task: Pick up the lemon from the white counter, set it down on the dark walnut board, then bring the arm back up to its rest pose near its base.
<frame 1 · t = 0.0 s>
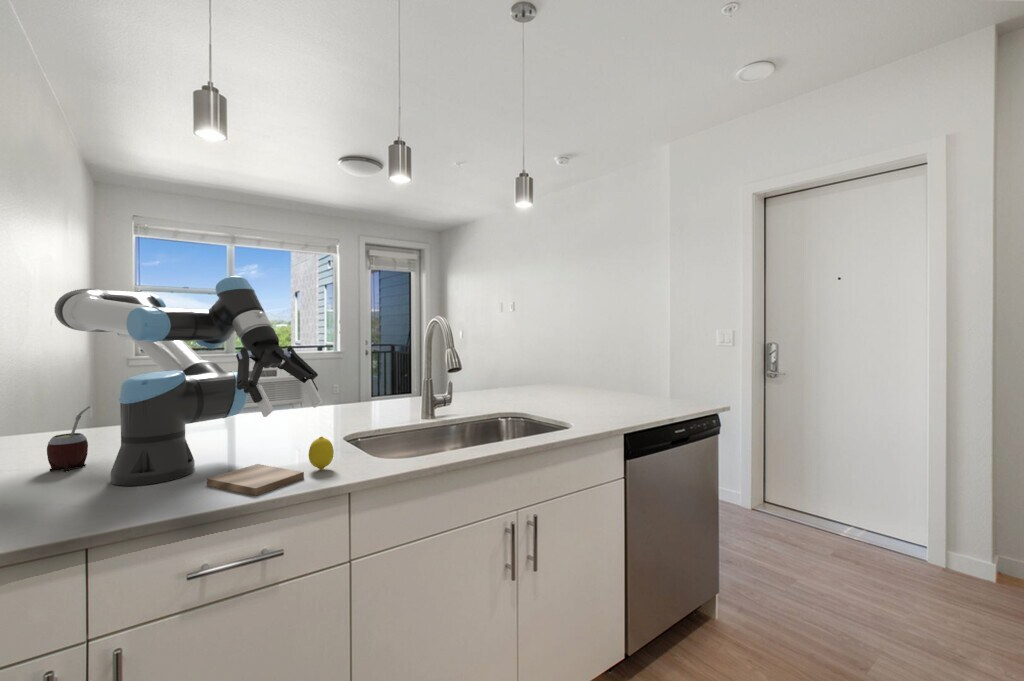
hand: (295, 409, 106), 15 cm above the counter, tool tilted 35°, fingers open, 13 cm apart
mate gourd: (70, 469, 111), on the counter
lemon: (321, 470, 111), on the counter
walnut board: (256, 481, 102), on the counter
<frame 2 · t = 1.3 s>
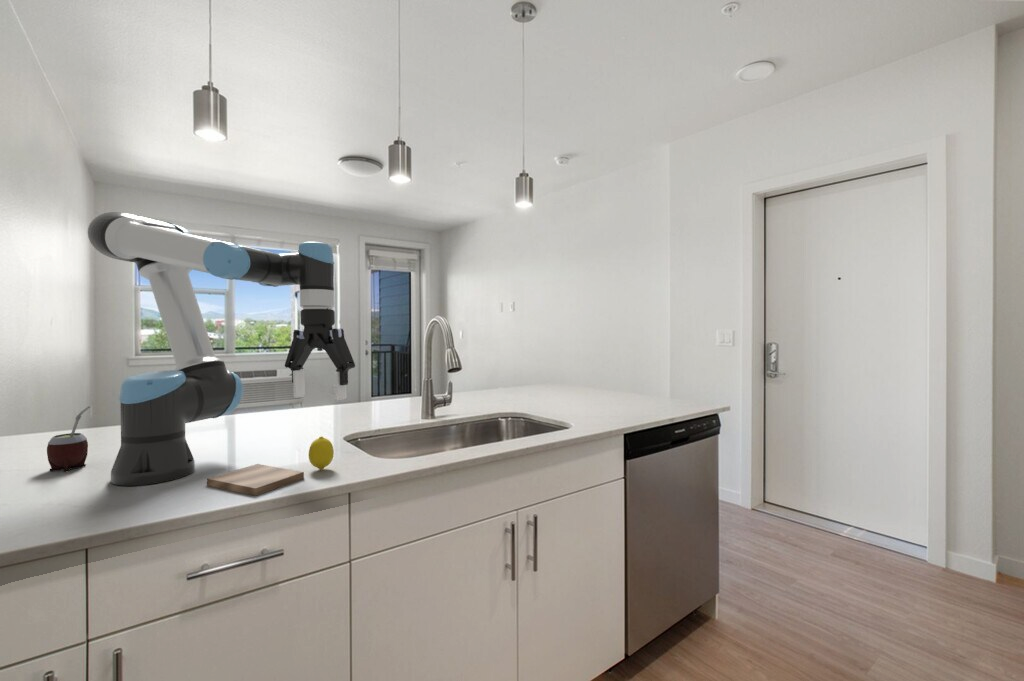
hand: (319, 398, 110), 17 cm above the counter, tool pointing down, fingers open, 13 cm apart
nothing on the counter moved.
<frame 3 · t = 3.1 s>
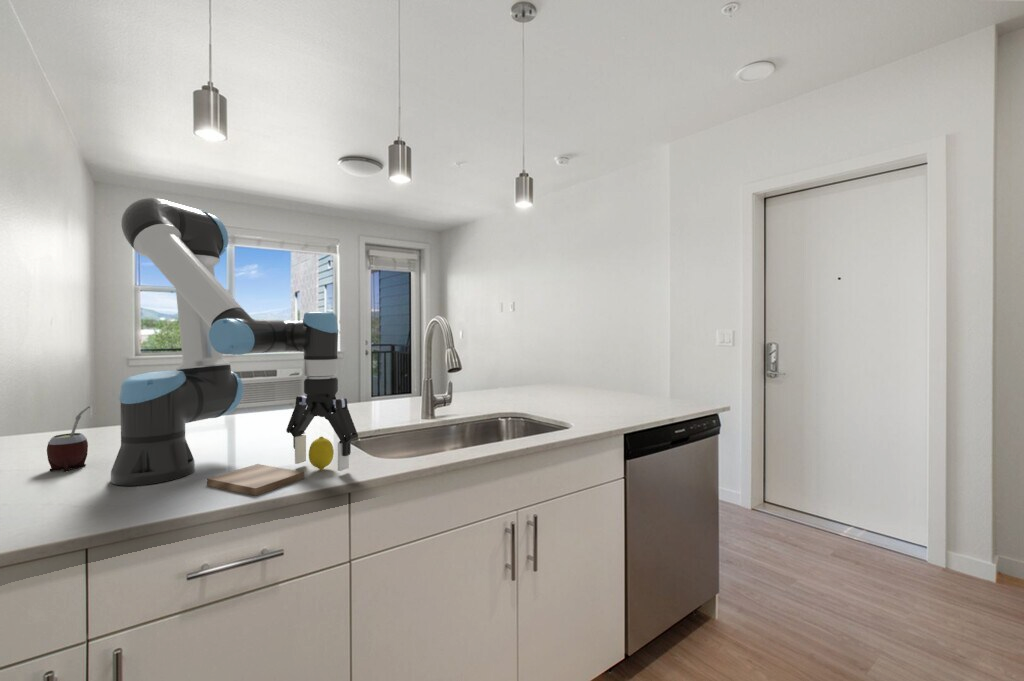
hand: (321, 465, 111), 1 cm above the counter, tool pointing down, fingers open, 13 cm apart
nothing on the counter moved.
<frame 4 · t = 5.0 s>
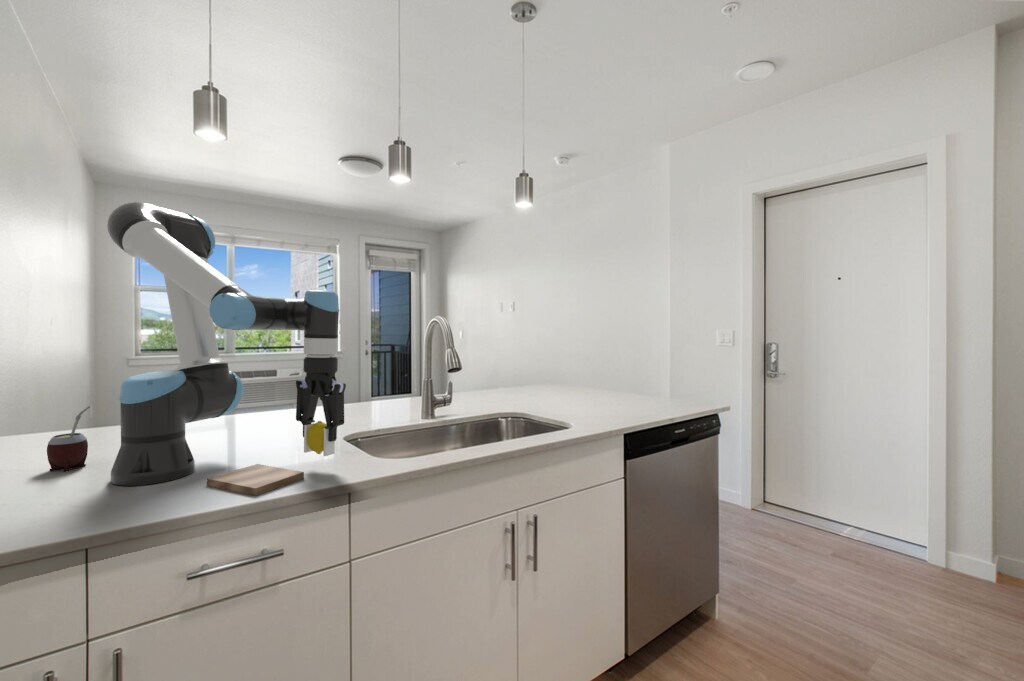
hand: (319, 452, 111), 4 cm above the counter, tool pointing down, fingers closed on lemon, 5 cm apart
lemon: (318, 455, 111), point 4 cm above the counter, touching gripper
everything else where it was.
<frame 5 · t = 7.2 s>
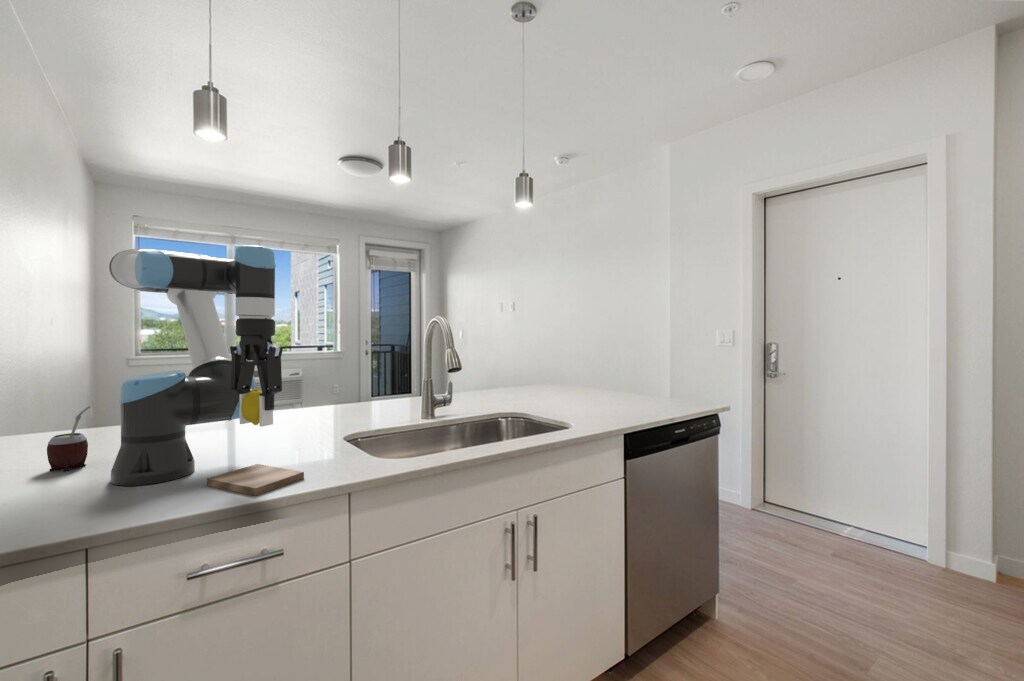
hand: (256, 423, 101), 13 cm above the counter, tool pointing down, fingers closed on lemon, 5 cm apart
lemon: (255, 426, 101), point 12 cm above the counter, touching gripper
everything else where it was.
when the fingers open (2 cm above the counter, at t = 9.7 s): lemon stays where it is, resting on walnut board.
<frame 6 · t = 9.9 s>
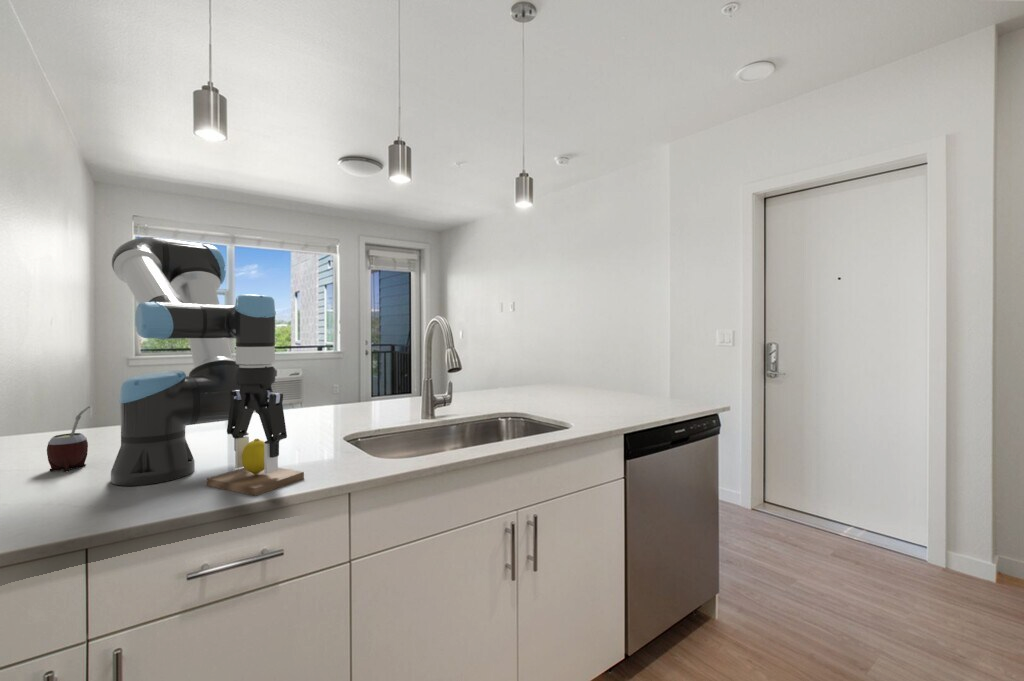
hand: (256, 469, 102), 3 cm above the counter, tool pointing down, fingers open, 8 cm apart
lemon: (256, 475, 102), point 1 cm above the counter, touching walnut board
everything else where it was.
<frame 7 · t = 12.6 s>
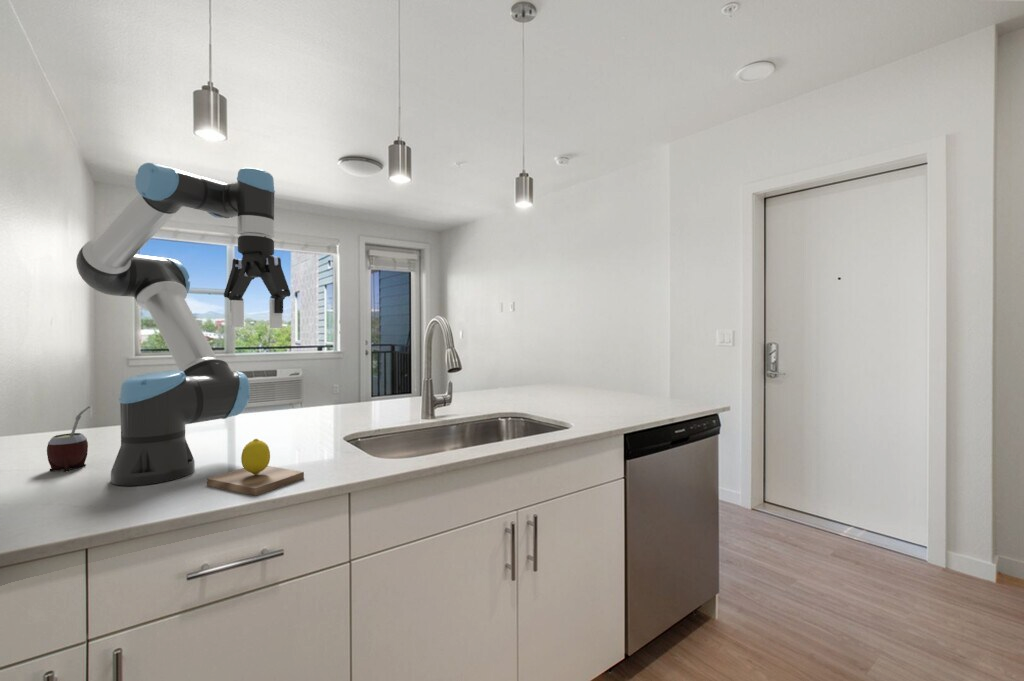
hand: (256, 327, 110), 34 cm above the counter, tool pointing down, fingers open, 13 cm apart
nothing on the counter moved.
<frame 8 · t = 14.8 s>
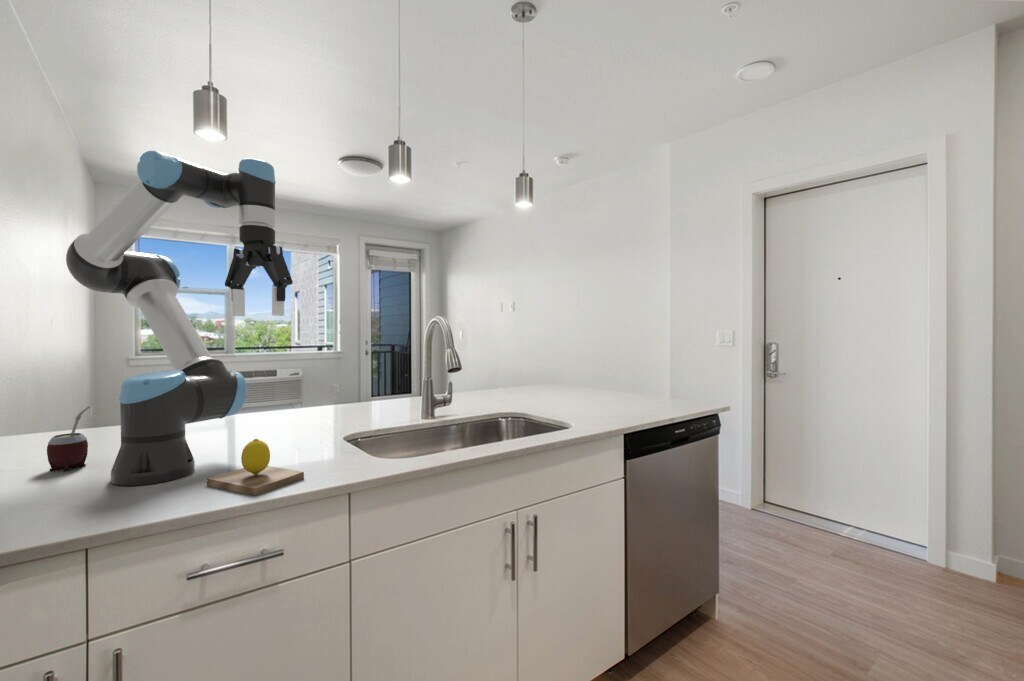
hand: (257, 316, 112), 37 cm above the counter, tool pointing down, fingers open, 13 cm apart
nothing on the counter moved.
at the end: lemon inside the target area on the walnut board (0.1 cm from its centre), point 1.3 cm above the walnut board's base; the gripper is holding nothing; lemon point 1.3 cm above the counter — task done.
